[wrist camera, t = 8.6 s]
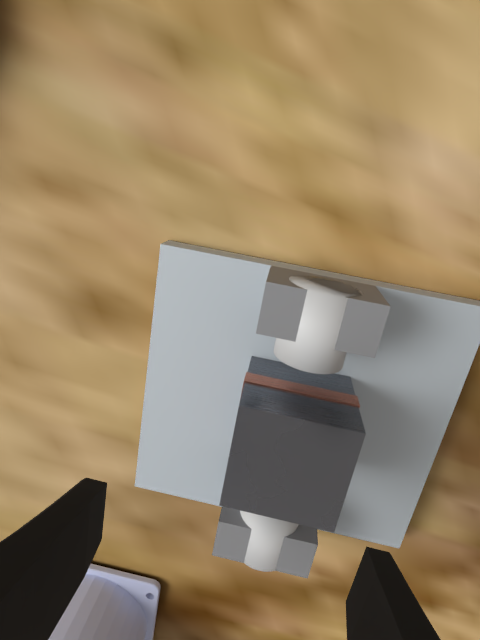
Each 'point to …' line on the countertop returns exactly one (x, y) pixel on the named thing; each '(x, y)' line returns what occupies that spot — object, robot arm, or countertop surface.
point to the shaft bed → (223, 359)
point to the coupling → (293, 445)
